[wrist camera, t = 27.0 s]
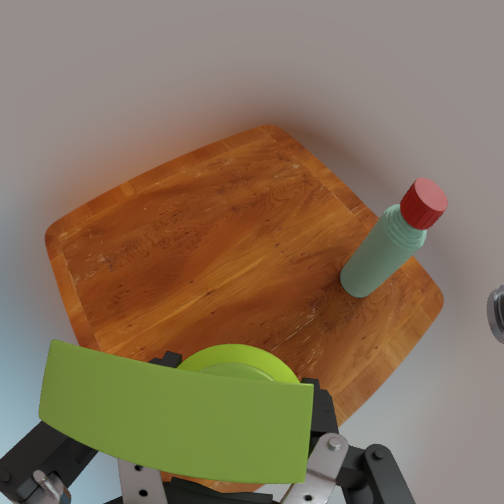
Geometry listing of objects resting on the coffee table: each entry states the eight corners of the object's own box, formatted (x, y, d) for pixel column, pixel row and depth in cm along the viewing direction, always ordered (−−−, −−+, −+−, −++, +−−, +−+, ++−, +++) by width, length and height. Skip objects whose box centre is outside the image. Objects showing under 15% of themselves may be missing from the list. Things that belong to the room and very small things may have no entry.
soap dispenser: (192, 368, 23) (67, 245, 5) (274, 377, 23) (392, 282, 5) (183, 433, 20) (22, 496, 2) (267, 443, 20) (373, 557, 2)
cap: (416, 235, 24) (433, 216, 21) (392, 203, 26) (406, 182, 23) (437, 223, 25) (454, 205, 22) (415, 193, 27) (429, 173, 24)
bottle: (378, 272, 41) (450, 194, 24) (368, 303, 38) (449, 233, 22) (346, 256, 42) (406, 167, 25) (334, 287, 39) (400, 204, 22)
